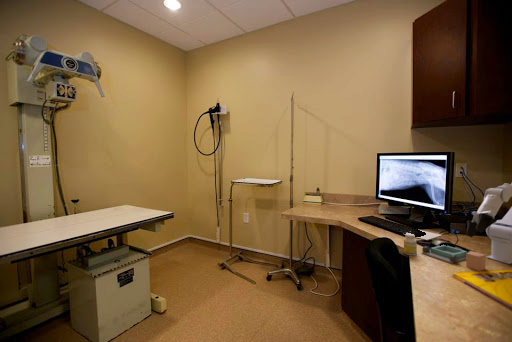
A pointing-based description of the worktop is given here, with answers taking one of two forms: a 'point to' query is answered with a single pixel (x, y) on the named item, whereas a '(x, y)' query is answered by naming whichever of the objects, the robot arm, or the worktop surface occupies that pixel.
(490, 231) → the robot arm
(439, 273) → the worktop surface
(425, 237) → the paper stack
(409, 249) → the supplement bottle
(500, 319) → the worktop surface
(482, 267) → the block
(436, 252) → the chassis
